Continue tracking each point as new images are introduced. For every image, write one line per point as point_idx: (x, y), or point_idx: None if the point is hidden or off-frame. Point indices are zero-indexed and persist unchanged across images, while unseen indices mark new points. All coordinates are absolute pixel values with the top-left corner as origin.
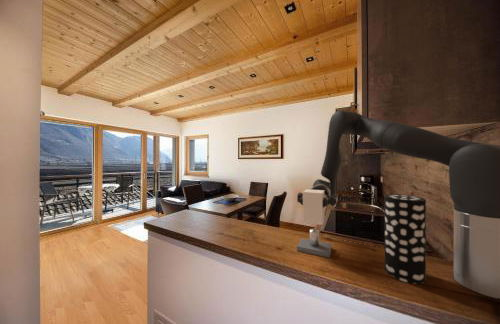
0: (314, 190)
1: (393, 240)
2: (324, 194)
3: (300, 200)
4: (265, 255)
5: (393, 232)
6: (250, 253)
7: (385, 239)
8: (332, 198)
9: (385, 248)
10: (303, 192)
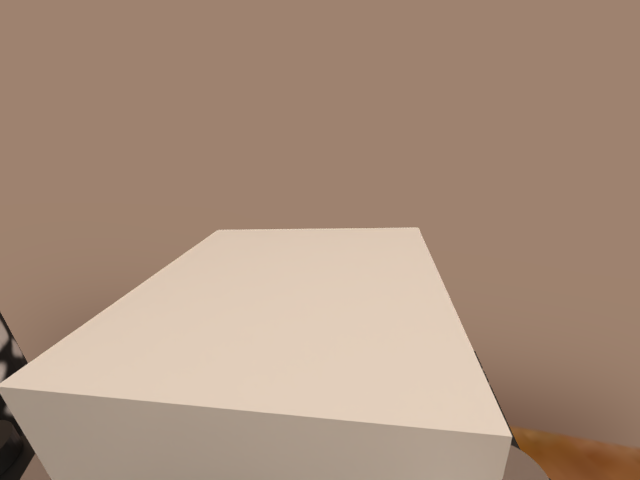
0: (263, 319)
1: (24, 360)
2: (44, 454)
3: None
4: (534, 451)
5: (9, 335)
6: (602, 445)
7: (4, 406)
8: (4, 423)
9: (22, 434)
10: (409, 233)
